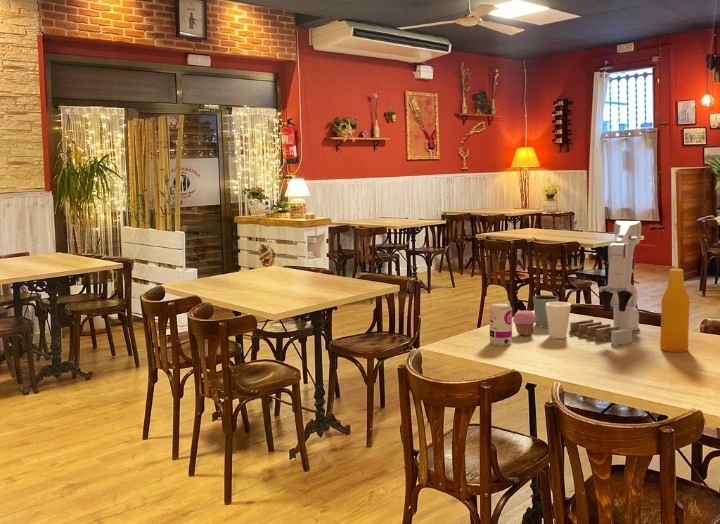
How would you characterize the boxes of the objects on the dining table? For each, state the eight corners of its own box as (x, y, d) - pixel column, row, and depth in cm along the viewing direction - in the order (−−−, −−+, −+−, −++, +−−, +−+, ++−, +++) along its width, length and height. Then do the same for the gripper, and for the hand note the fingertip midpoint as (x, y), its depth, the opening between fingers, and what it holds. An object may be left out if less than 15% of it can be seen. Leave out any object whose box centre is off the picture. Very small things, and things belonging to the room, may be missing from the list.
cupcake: (539, 334, 286) (540, 309, 285) (529, 338, 280) (529, 313, 278) (519, 331, 292) (519, 307, 291) (509, 335, 286) (509, 310, 284)
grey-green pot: (560, 327, 297) (561, 299, 295) (536, 328, 297) (536, 299, 295) (554, 322, 307) (554, 294, 305) (530, 322, 307) (530, 295, 305)
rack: (592, 330, 291) (592, 319, 291) (620, 337, 278) (620, 326, 277) (568, 333, 286) (569, 322, 286) (596, 341, 273) (596, 330, 272)
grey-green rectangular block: (626, 341, 272) (627, 328, 271) (631, 342, 270) (632, 329, 269) (610, 344, 269) (611, 331, 268) (615, 345, 267) (616, 332, 266)
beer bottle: (655, 350, 259) (658, 270, 255) (665, 344, 265) (668, 266, 261) (682, 354, 252) (685, 272, 248) (691, 348, 259) (694, 268, 255)
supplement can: (515, 342, 274) (516, 304, 272) (504, 347, 268) (504, 307, 266) (497, 339, 279) (497, 301, 277) (485, 344, 274) (485, 305, 271)
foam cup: (568, 333, 286) (568, 301, 284) (572, 339, 277) (573, 306, 275) (543, 334, 287) (543, 301, 285) (547, 339, 278) (547, 306, 276)
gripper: (594, 274, 275) (591, 309, 274) (623, 273, 262) (620, 310, 261) (608, 276, 278) (605, 311, 277) (637, 275, 265) (635, 312, 264)
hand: (614, 311), depth 269 cm, fingers open, 7 cm apart
